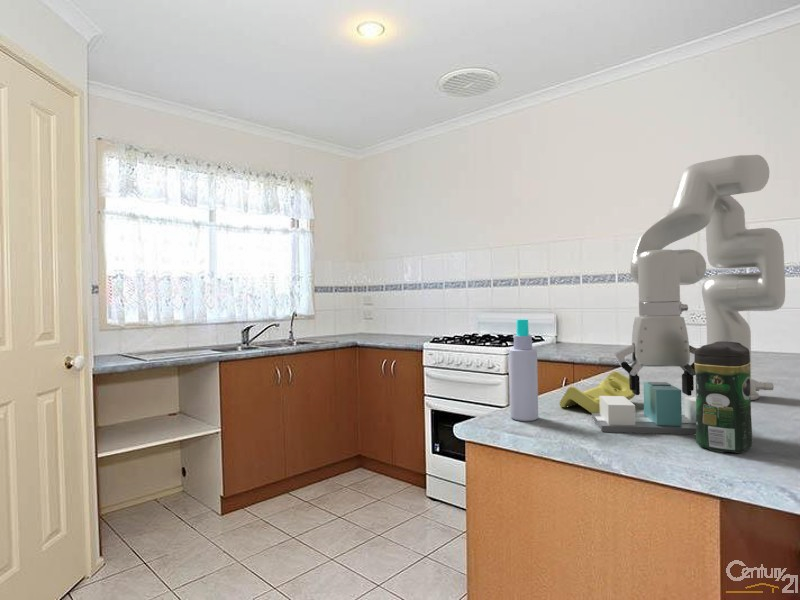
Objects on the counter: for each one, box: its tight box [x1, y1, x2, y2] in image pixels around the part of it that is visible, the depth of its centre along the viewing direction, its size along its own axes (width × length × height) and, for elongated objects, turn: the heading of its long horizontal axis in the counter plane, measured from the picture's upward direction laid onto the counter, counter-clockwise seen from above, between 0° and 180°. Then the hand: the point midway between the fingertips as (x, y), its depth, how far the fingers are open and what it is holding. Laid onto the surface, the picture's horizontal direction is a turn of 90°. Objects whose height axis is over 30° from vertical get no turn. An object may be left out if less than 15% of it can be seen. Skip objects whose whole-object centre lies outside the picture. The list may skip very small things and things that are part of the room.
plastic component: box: [558, 371, 636, 414], centre depth 123 cm, size 20×7×10 cm
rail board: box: [591, 396, 696, 435], centre depth 103 cm, size 25×11×5 cm, turn 79°
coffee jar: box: [693, 341, 753, 454], centre depth 89 cm, size 10×8×19 cm
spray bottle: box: [508, 318, 539, 422], centre depth 112 cm, size 6×6×22 cm
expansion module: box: [643, 381, 683, 426], centre depth 103 cm, size 4×9×7 cm, turn 169°
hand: (661, 394), depth 103 cm, fingers open, 9 cm apart
